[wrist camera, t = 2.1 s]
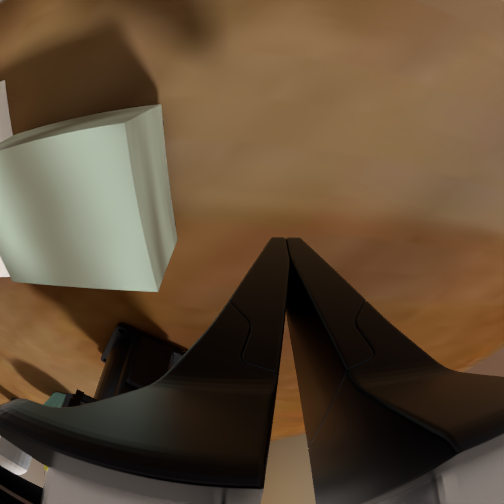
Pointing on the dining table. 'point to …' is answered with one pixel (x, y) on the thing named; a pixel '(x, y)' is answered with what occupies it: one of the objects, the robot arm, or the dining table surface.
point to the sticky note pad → (88, 202)
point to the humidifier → (13, 457)
